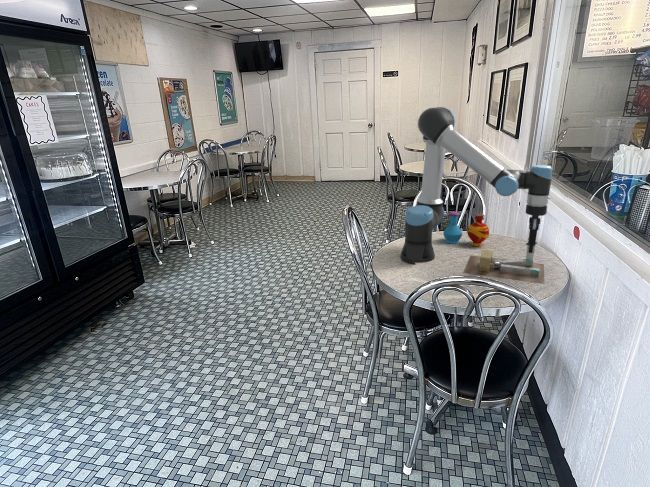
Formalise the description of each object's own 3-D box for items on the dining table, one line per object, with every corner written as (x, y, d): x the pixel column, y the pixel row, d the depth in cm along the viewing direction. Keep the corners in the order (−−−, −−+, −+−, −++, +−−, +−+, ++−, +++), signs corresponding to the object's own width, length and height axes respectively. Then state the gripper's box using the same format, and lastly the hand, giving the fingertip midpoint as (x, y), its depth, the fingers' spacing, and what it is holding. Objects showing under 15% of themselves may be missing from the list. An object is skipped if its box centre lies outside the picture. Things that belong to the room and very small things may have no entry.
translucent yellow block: (478, 270, 160) (480, 257, 158) (481, 262, 167) (482, 249, 165) (489, 272, 158) (490, 258, 156) (491, 264, 165) (492, 250, 164)
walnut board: (462, 275, 159) (463, 272, 159) (470, 257, 177) (470, 255, 176) (544, 286, 146) (544, 283, 146) (543, 266, 164) (543, 264, 163)
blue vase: (462, 244, 194) (465, 215, 189) (443, 243, 196) (445, 214, 191) (460, 238, 202) (462, 210, 197) (442, 238, 204) (443, 210, 199)
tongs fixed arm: (476, 268, 162) (477, 262, 161) (477, 265, 165) (478, 259, 164) (538, 276, 152) (539, 270, 151) (538, 273, 155) (539, 267, 154)
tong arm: (493, 270, 159) (494, 263, 158) (489, 266, 163) (489, 260, 162) (534, 267, 160) (535, 261, 159) (529, 264, 164) (530, 257, 163)
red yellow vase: (461, 242, 196) (463, 213, 191) (479, 240, 199) (481, 211, 194) (475, 249, 187) (477, 218, 182) (493, 246, 189) (496, 216, 185)
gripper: (548, 208, 151) (539, 265, 159) (547, 201, 162) (539, 255, 170) (526, 207, 154) (519, 263, 162) (526, 200, 165) (519, 252, 173)
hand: (529, 258), depth 166 cm, fingers closed
